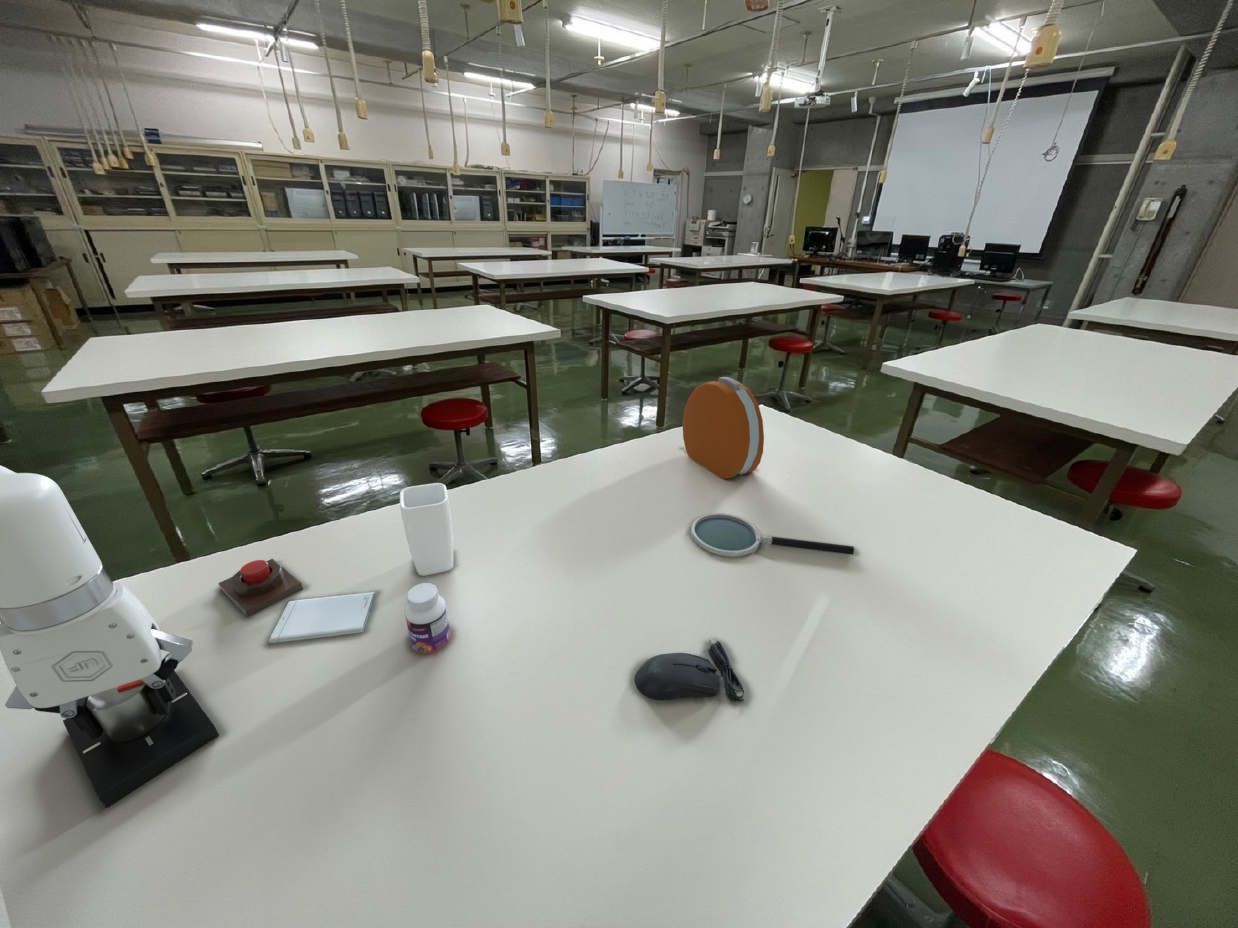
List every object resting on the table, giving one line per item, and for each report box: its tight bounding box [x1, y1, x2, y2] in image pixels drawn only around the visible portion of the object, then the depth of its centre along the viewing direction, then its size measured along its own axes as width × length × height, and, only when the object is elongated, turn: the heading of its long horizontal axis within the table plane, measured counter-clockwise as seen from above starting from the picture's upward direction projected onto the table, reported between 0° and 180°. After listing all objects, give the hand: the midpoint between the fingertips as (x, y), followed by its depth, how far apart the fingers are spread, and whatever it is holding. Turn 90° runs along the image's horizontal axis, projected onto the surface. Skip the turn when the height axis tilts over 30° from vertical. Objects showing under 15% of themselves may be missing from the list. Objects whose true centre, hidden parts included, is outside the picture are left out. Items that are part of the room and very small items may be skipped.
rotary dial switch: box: [62, 669, 220, 809], centre depth 58 cm, size 14×10×3 cm
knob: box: [87, 680, 164, 742], centre depth 56 cm, size 5×5×6 cm
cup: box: [399, 482, 454, 576], centre depth 85 cm, size 7×7×15 cm
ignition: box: [217, 558, 304, 618], centre depth 80 cm, size 10×8×4 cm
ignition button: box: [239, 559, 270, 583], centre depth 79 cm, size 4×4×2 cm
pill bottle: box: [404, 582, 451, 654], centre depth 71 cm, size 5×5×10 cm
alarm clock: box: [682, 376, 765, 480], centre depth 123 cm, size 22×10×23 cm, turn 30°
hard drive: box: [268, 591, 376, 644], centre depth 76 cm, size 2×8×12 cm
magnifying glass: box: [690, 512, 855, 558], centre depth 97 cm, size 13×31×2 cm, turn 81°
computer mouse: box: [634, 637, 745, 703], centre depth 68 cm, size 10×15×4 cm
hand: (133, 715), depth 57 cm, fingers closed on knob, 5 cm apart
